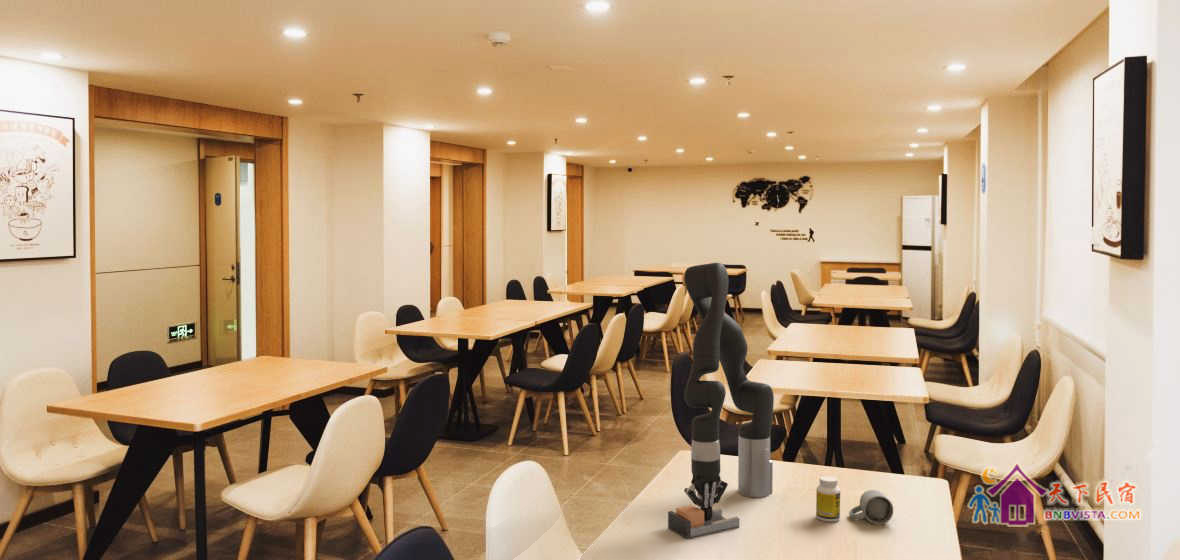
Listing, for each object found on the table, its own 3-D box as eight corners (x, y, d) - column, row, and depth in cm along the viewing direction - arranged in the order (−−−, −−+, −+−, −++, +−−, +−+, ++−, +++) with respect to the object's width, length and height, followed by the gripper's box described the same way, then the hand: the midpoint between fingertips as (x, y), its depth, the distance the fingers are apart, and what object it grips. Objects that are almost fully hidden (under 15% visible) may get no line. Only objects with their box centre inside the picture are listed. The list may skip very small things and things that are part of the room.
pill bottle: (840, 523, 211) (840, 483, 210) (815, 521, 213) (816, 481, 212) (839, 515, 217) (840, 476, 216) (816, 513, 219) (816, 474, 218)
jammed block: (691, 523, 210) (691, 504, 210) (704, 530, 206) (704, 511, 205) (676, 526, 208) (676, 508, 208) (688, 533, 203) (688, 514, 203)
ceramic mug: (885, 513, 218) (885, 486, 218) (893, 525, 210) (893, 496, 209) (845, 513, 219) (845, 486, 219) (852, 524, 211) (852, 496, 210)
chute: (719, 516, 217) (719, 500, 216) (739, 527, 209) (739, 510, 209) (668, 528, 209) (668, 511, 208) (686, 539, 201) (686, 522, 201)
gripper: (717, 448, 214) (717, 510, 215) (676, 456, 208) (677, 520, 209) (734, 455, 207) (735, 519, 209) (693, 463, 201) (694, 530, 203)
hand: (706, 519), depth 209 cm, fingers closed
